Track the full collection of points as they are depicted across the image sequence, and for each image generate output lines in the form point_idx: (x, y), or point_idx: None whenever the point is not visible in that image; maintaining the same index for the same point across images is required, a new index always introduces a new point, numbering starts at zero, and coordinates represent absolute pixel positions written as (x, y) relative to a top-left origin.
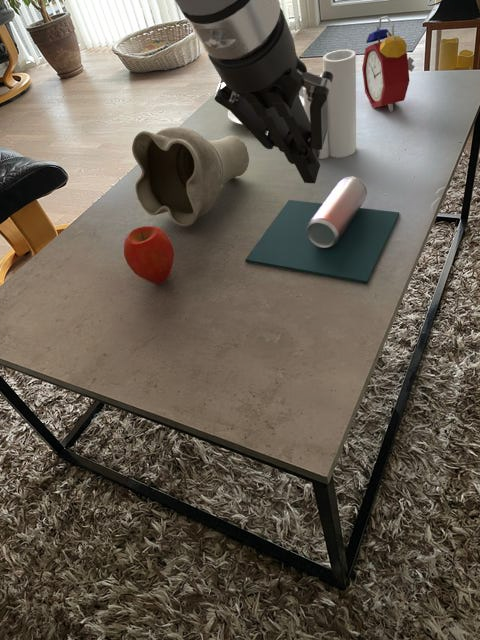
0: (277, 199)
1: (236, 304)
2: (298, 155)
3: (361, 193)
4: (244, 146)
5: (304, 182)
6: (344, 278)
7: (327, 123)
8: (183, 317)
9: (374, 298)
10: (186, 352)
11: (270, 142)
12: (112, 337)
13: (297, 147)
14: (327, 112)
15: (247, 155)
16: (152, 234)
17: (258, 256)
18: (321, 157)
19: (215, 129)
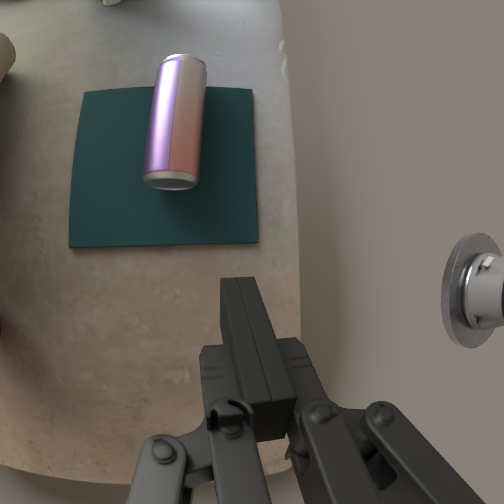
0: (67, 93)
1: (103, 337)
2: (288, 458)
3: (204, 80)
4: (4, 38)
5: (220, 325)
6: (225, 243)
7: (419, 434)
8: (58, 377)
9: (274, 267)
10: (100, 424)
11: (192, 494)
12: (17, 420)
13: (267, 428)
14: (455, 471)
15: (11, 46)
16: None
17: (84, 235)
18: (111, 4)
19: None
